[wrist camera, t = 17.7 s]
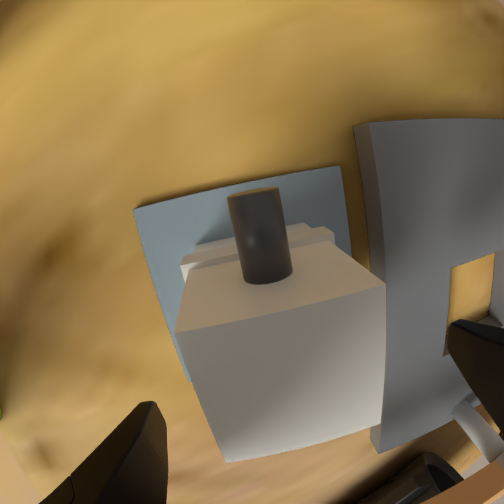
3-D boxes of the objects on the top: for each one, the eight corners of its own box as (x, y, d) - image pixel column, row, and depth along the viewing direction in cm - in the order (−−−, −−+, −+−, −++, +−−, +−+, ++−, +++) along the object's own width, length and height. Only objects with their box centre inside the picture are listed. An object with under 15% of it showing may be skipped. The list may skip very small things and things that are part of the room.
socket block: (521, 121, 12) (606, 125, 6) (502, 372, 17) (552, 418, 11) (352, 125, 12) (460, 107, 6) (369, 438, 17) (409, 513, 11)
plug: (300, 169, 12) (387, 181, 5) (321, 320, 13) (386, 425, 7) (177, 194, 11) (132, 232, 5) (216, 344, 13) (220, 467, 7)
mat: (336, 165, 12) (340, 165, 12) (354, 338, 14) (357, 342, 14) (135, 208, 12) (132, 209, 11) (189, 377, 14) (188, 382, 14)
